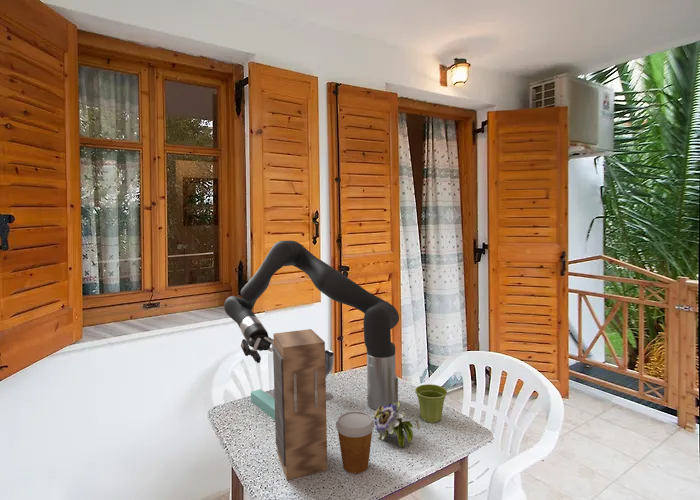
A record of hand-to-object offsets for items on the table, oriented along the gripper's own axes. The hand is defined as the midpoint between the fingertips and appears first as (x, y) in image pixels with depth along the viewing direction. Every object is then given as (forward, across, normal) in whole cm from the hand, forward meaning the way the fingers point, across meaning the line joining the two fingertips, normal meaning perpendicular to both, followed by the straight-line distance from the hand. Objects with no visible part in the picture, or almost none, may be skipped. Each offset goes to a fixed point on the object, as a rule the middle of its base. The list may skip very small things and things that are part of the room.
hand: (271, 359), depth 133 cm
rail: (+12, -1, +12) cm, 17 cm away
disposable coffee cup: (+46, +2, -3) cm, 47 cm away
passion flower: (+43, +18, -4) cm, 47 cm away
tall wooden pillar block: (+37, -8, +2) cm, 38 cm away
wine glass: (+12, +17, +9) cm, 23 cm away
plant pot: (+42, +34, -6) cm, 54 cm away
